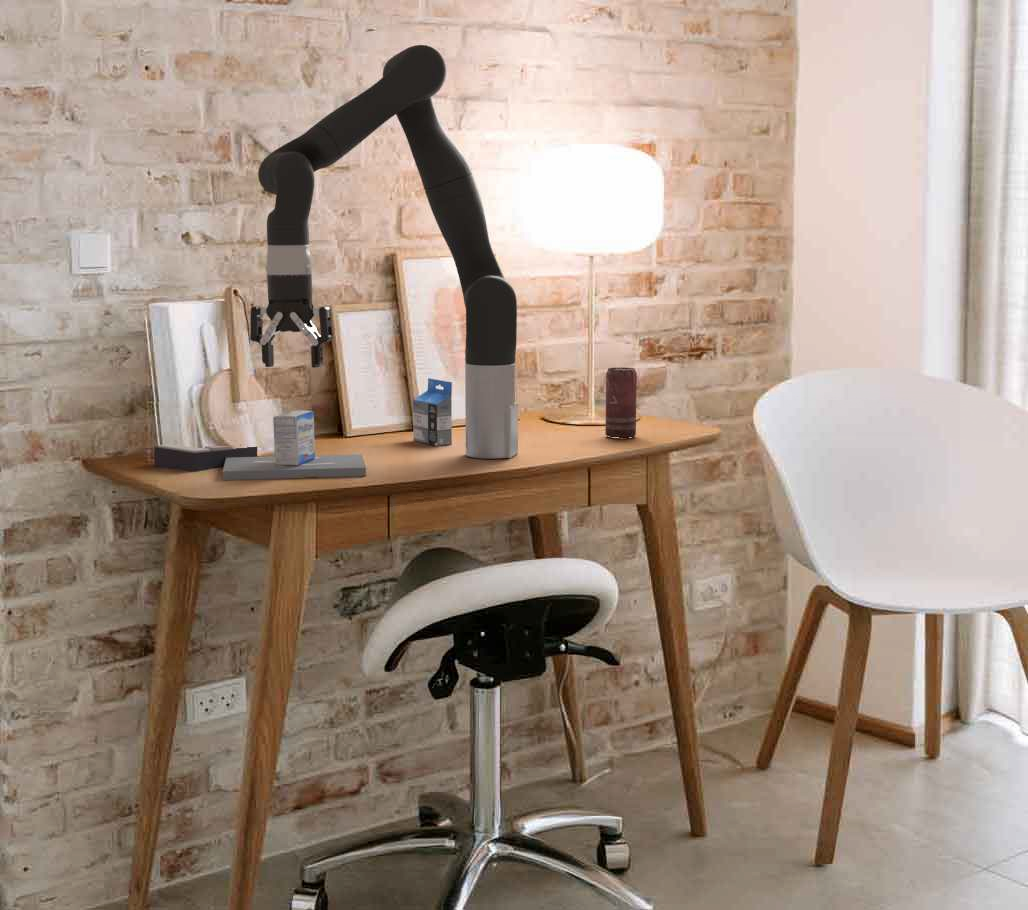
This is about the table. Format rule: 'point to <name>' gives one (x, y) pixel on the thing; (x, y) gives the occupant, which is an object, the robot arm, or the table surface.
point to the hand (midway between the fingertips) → (292, 366)
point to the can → (621, 402)
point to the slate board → (294, 467)
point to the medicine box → (294, 438)
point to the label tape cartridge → (433, 414)
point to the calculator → (197, 456)
